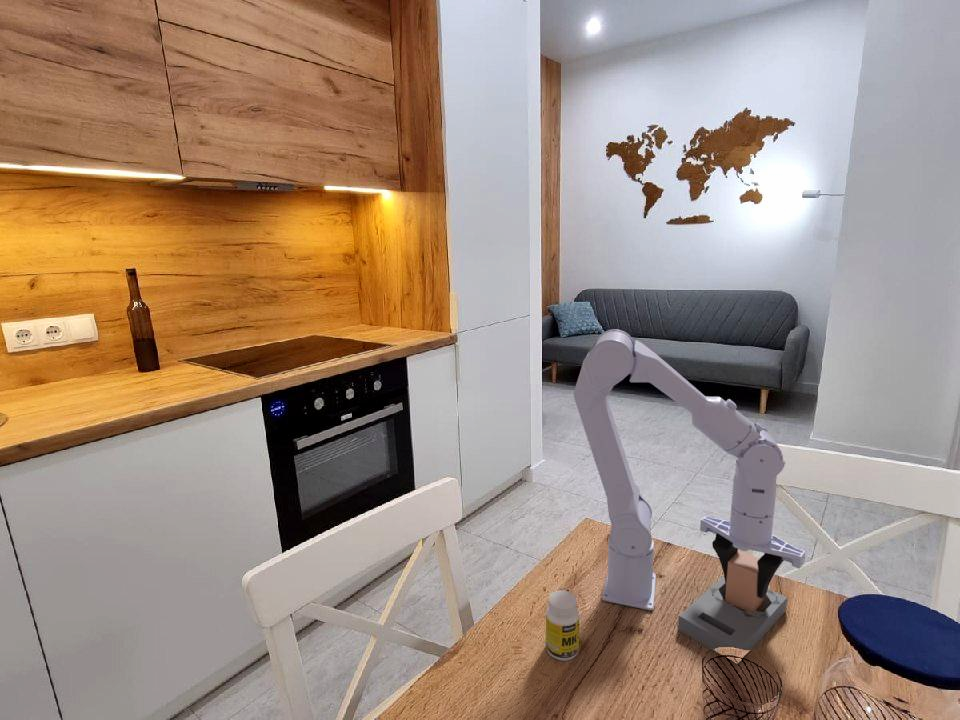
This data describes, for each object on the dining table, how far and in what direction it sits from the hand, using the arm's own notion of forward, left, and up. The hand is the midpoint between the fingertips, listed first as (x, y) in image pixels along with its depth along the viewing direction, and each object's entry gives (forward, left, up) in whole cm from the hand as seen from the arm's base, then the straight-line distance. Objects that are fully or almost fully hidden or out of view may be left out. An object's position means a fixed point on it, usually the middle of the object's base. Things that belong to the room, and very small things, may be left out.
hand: (745, 587), depth 81 cm
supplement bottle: (+17, -25, -4) cm, 31 cm away
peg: (0, 0, -2) cm, 2 cm away
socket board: (+3, -2, -4) cm, 5 cm away
